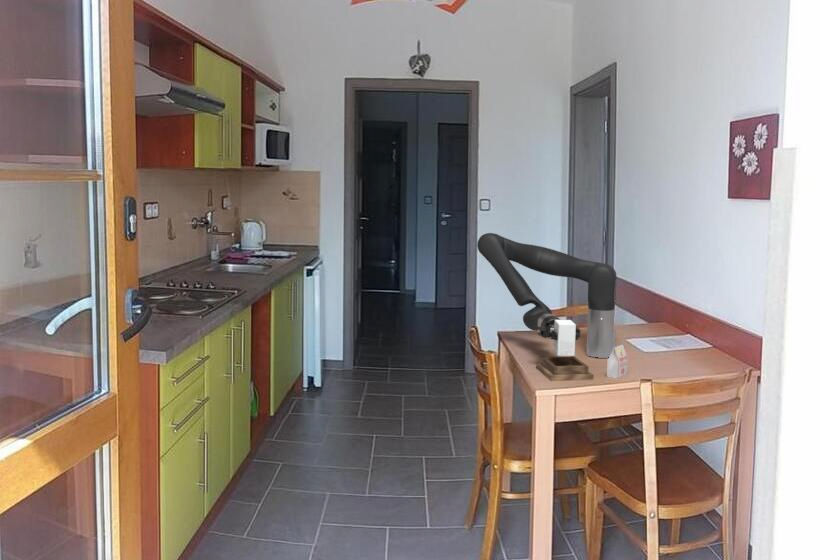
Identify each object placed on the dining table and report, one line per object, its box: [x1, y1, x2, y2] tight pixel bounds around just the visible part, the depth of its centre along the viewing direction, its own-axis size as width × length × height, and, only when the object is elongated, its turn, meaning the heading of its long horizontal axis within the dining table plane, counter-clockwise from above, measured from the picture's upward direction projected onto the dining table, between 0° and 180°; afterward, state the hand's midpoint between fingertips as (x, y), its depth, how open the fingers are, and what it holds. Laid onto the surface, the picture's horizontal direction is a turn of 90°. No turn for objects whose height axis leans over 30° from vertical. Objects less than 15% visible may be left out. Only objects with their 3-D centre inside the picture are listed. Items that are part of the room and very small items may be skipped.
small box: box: [552, 319, 577, 357], centre depth 237 cm, size 8×6×10 cm
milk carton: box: [606, 344, 628, 379], centre depth 235 cm, size 4×7×10 cm, turn 139°
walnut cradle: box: [535, 356, 595, 382], centre depth 238 cm, size 14×16×4 cm
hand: (566, 337), depth 235 cm, fingers closed on small box, 6 cm apart
